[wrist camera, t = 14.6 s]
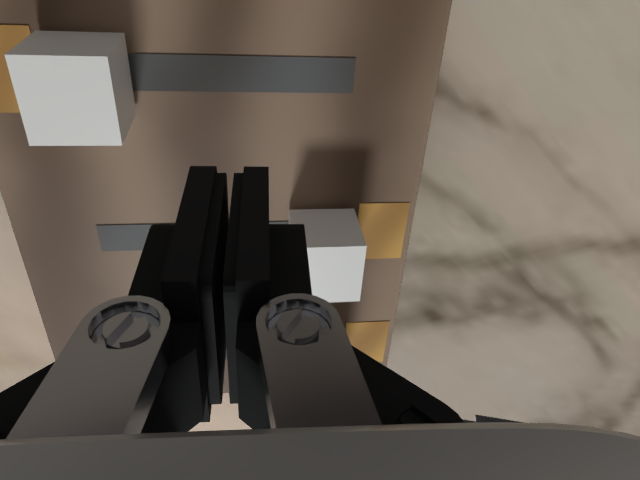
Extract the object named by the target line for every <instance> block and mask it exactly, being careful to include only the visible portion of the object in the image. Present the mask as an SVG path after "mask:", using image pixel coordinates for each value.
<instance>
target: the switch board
mask: <svg viewBox="0 0 640 480" xmlns="http://www.w3.org/2000/svg"><path fill="white" fill-rule="evenodd" d="M451 4H452V0H0V191H1V194H2V197H3V200H4V203H5V206H6V209H7V212H8V215H9V219H10V222H11V225H12V228H13V231H14V234H15V237H16V240H17V243H18V246H19V249H20V252H21V256H22V259H23V262H24V265H25V268H26V271H27V274H28V277H29V280H30V283H31V286H32V290H33V293H34V296H35V299H36V302H37V305H38V308H39V311H40V314H41V317H42V320H43V324H44V327H45V330H46V333H47V336H48V339H49V342H50V345H51V348H52V351H53V354H54V357H55V361H56V359H57V358H58V356H59V355H60V353H61V351H62V350H63V348H64V347H65V345H66V344H67V342H68V340H69V339H70V337H71V336H72V334H73V333H74V331H75V330H76V328H77V326H78V325H79V323H80V322H81V320H82V319H83V318H84V317H85V316H86V314H87V313H88V312H89V311H90V310H92V309H93V308H95V307H96V306H98V305H99V304H101V303H104V302H106V301H108V300H111V299H113V298H118V297H123V296H128V293H129V290H130V287H131V284H132V281H133V278H134V275H135V272H136V269H137V266H138V263H139V260H140V257H141V254H142V251H143V248H144V245H145V241H146V238H147V235H148V232H149V229H150V227H151V225H153V224H175V222H176V219H177V215H178V211H179V207H180V203H181V199H182V195H183V191H184V188H185V184H186V180H187V176H188V172H189V168H190V166H216V167H217V173H226V174H227V189H228V209H229V214H230V205H231V196H232V186H233V177H234V173H243V170H244V166H252V167H269V224H288V221H289V210H298V209H354V210H355V213H356V216H357V219H358V221H359V224H360V227H361V230H362V233H363V236H364V239H365V242H366V245H367V249H366V257H365V264H364V272H363V280H362V288H361V296H360V301H355V302H331V303H330V304H331V305H332V306H334V307H335V309H336V310H337V312H338V313H339V315H340V317H341V320H342V322H343V325H344V327H345V330H346V333H347V335H348V338H349V340H350V343H351V345H352V346H354V347H355V348H357V349H359V350H360V351H362V352H363V353H365V354H367V355H368V356H370V357H371V358H373V359H375V360H376V361H378V362H379V363H381V364H382V365H384V366H386V367H387V361H388V355H389V350H390V344H391V339H392V333H393V327H394V322H395V316H396V311H397V305H398V300H399V294H400V288H401V283H402V277H403V272H404V266H405V261H406V255H407V249H408V244H409V238H410V233H411V227H412V221H413V216H414V210H415V205H416V199H417V194H418V188H419V182H420V177H421V171H422V166H423V160H424V155H425V149H426V143H427V138H428V132H429V127H430V121H431V115H432V110H433V104H434V99H435V93H436V88H437V82H438V76H439V71H440V65H441V60H442V54H443V49H444V43H445V37H446V32H447V26H448V21H449V15H450V9H451ZM34 31H75V32H115V33H125V40H126V47H127V54H128V60H129V67H130V74H131V81H132V88H133V95H134V101H135V108H136V115H135V117H134V120H133V122H132V124H131V127H130V129H129V131H128V134H127V136H126V138H125V141H124V143H123V145H122V146H29V143H28V139H27V135H26V132H25V128H24V124H23V121H22V117H21V114H20V110H19V106H18V103H17V99H16V95H15V92H14V88H13V84H12V81H11V77H10V73H9V70H8V66H7V62H6V59H5V55H4V54H6V53H7V52H8V51H10V50H11V49H12V48H13V47H15V46H16V45H17V44H19V43H20V42H21V41H22V40H24V39H25V38H26V37H28V36H29V35H30V34H31V33H33V32H34ZM223 393H229V380H228V364H227V348H226V359H225V371H224V383H223Z"/></svg>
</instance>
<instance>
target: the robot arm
mask: <svg viewBox="0 0 640 480" xmlns="http://www.w3.org/2000/svg"><path fill="white" fill-rule="evenodd" d="M226 348H227V364H228V380H229V395H230V404H233V403H238V408H239V418H240V419H241V420H242V421H244V422H245V423H246V424H247V425H248V426H250V427H251V428H252V429H247V430H220V431H194V432H188V431H189V430H190V429H192V428H193V427H194V426H195V425H197V424H198V423H199V422H210V414H211V404H221V403H222V395H223V383H224V371H225V359H226ZM0 480H640V437H639V436H635V435H632V434H628V433H624V432H618V431H612V430H606V429H601V428H595V427H589V426H580V425H569V424H558V423H524V422H517V421H511V420H505V419H499V418H493V417H487V416H481V415H475V418H474V421H469V420H463V419H461V418H460V416H459V415H458V414H457V413H456V412H455V411H454V410H452V409H451V408H450V407H449V406H447V405H446V404H445V403H443V402H441V401H440V400H438V399H437V398H435V397H434V396H432V395H430V394H429V393H427V392H426V391H424V390H422V389H421V388H419V387H418V386H416V385H414V384H413V383H411V382H410V381H408V380H406V379H405V378H403V377H402V376H400V375H398V374H397V373H395V372H394V371H392V370H390V369H389V368H387V367H386V366H384V365H382V364H381V363H379V362H378V361H376V360H375V359H373V358H371V357H370V356H368V355H367V354H365V353H363V352H362V351H360V350H359V349H357V348H355V347H354V346H352V345H351V343H350V340H349V338H348V335H347V333H346V330H345V327H344V325H343V322H342V320H341V317H340V315H339V313H338V312H337V310H336V309H335V307H334V306H332V305H331V304H330V303H329V302H327V301H326V300H324V299H322V298H319V297H317V296H314V295H312V289H311V280H310V271H309V262H308V253H307V244H306V235H305V227H304V224H269V167H252V166H244V170H243V173H234V177H233V186H232V196H231V205H230V214H229V209H228V189H227V174H226V173H217V167H216V166H190V168H189V172H188V176H187V180H186V184H185V188H184V191H183V195H182V199H181V203H180V207H179V211H178V215H177V219H176V222H175V224H153V225H151V227H150V229H149V232H148V235H147V238H146V241H145V245H144V248H143V251H142V254H141V257H140V260H139V263H138V266H137V269H136V272H135V275H134V278H133V281H132V284H131V287H130V290H129V293H128V296H123V297H118V298H113V299H111V300H108V301H106V302H104V303H101V304H99V305H98V306H96V307H95V308H93V309H92V310H90V311H89V312H88V313H87V314H86V316H85V317H84V318H83V319H82V320H81V322H80V323H79V325H78V326H77V328H76V330H75V331H74V333H73V334H72V336H71V337H70V339H69V340H68V342H67V344H66V345H65V347H64V348H63V350H62V351H61V353H60V355H59V356H58V358H57V359H56V361H55V362H53V363H52V364H50V365H48V366H46V367H45V368H43V369H41V370H39V371H38V372H36V373H34V374H32V375H31V376H29V377H27V378H25V379H24V380H22V381H20V382H18V383H16V384H15V385H13V386H11V387H9V388H8V389H6V390H4V391H2V392H1V393H0Z"/></svg>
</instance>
